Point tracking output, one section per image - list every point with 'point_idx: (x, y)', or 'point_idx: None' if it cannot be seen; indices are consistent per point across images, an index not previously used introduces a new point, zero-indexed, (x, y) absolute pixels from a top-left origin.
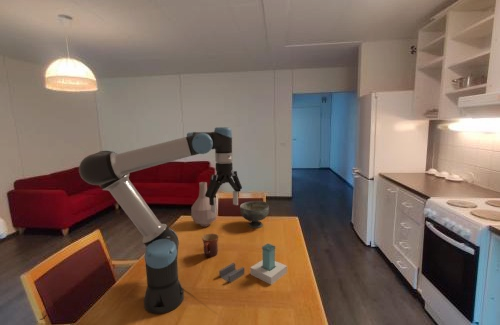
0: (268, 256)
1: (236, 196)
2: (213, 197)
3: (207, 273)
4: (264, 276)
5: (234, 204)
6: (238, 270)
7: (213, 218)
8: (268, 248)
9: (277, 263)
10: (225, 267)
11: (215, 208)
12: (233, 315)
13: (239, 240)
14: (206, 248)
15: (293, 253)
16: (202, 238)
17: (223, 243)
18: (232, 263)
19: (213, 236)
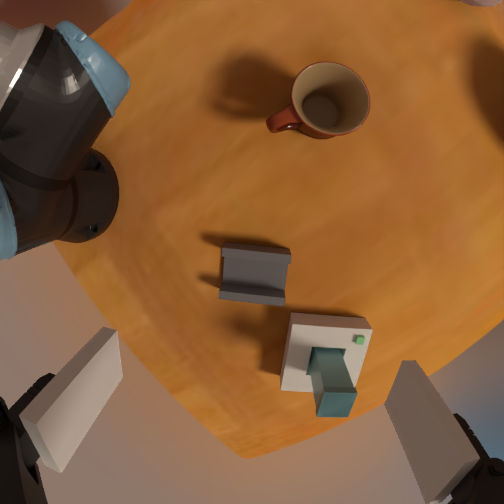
0: (315, 396)
1: (413, 463)
2: (29, 468)
3: (221, 191)
4: (283, 367)
5: (396, 378)
6: (260, 299)
7: (474, 1)
8: (322, 411)
9: (353, 370)
10: (249, 252)
11: (102, 397)
12: (148, 355)
13: (452, 144)
14: (270, 131)
15: (446, 341)
16: (298, 76)
17: (406, 103)
18: (284, 256)
19: (358, 94)
